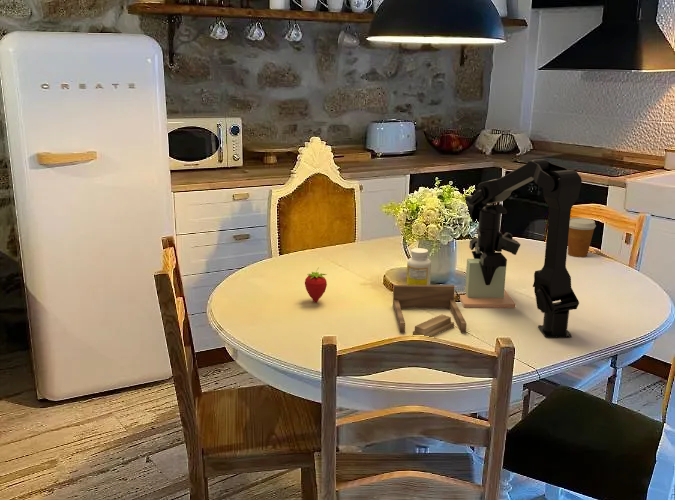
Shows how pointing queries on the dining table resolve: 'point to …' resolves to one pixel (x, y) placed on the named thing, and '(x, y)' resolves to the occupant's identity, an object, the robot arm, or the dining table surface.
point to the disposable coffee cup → (580, 236)
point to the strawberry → (315, 285)
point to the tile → (488, 302)
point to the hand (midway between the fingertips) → (485, 281)
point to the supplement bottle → (418, 267)
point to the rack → (425, 301)
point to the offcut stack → (434, 326)
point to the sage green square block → (476, 282)
